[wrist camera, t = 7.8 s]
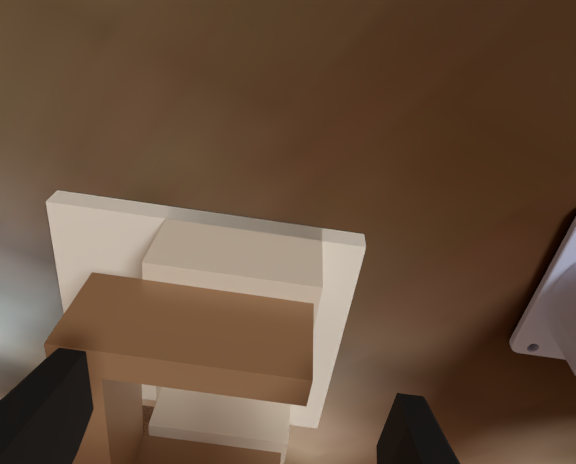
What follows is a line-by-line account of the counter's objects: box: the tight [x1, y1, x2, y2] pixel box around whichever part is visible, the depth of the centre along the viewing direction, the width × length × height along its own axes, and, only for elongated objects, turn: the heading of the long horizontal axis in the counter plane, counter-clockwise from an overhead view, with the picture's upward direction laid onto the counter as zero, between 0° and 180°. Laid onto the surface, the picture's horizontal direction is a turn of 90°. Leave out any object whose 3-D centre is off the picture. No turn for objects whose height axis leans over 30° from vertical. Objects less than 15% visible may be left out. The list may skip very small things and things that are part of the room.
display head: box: [46, 190, 366, 464], centre depth 21 cm, size 13×12×4 cm
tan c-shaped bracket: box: [44, 272, 314, 464], centre depth 18 cm, size 8×10×4 cm
